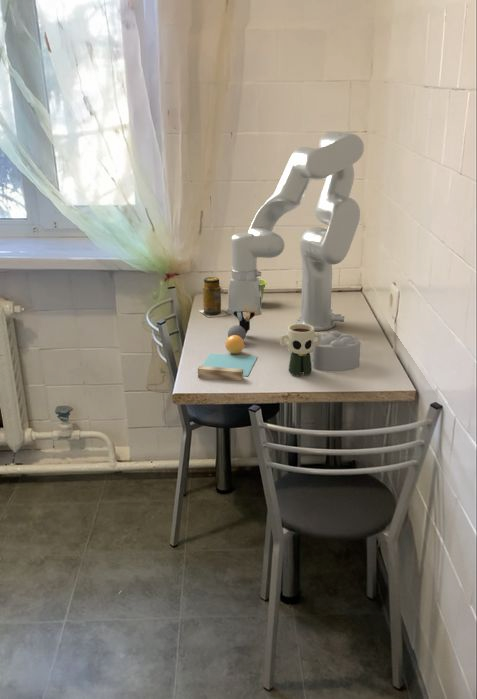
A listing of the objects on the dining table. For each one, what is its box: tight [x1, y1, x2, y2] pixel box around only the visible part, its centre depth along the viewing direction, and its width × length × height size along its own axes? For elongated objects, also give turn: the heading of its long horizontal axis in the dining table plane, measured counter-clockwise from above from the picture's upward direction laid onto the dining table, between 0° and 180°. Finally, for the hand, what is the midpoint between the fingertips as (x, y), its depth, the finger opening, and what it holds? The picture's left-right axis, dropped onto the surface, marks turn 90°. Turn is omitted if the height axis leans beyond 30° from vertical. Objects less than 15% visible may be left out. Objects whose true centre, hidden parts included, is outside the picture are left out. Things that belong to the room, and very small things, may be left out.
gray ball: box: [227, 324, 247, 341], centre depth 200 cm, size 6×6×6 cm
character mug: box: [280, 323, 321, 376], centre depth 177 cm, size 11×7×13 cm, turn 94°
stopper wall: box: [197, 365, 244, 382], centre depth 177 cm, size 12×2×2 cm, turn 78°
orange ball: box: [224, 335, 245, 355], centre depth 192 cm, size 6×6×6 cm
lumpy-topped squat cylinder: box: [311, 330, 361, 373], centre depth 183 cm, size 10×13×9 cm
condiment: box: [198, 276, 229, 318], centre depth 226 cm, size 7×8×12 cm
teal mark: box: [196, 352, 258, 377], centre depth 185 cm, size 14×14×1 cm
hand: (244, 331), depth 206 cm, fingers closed
